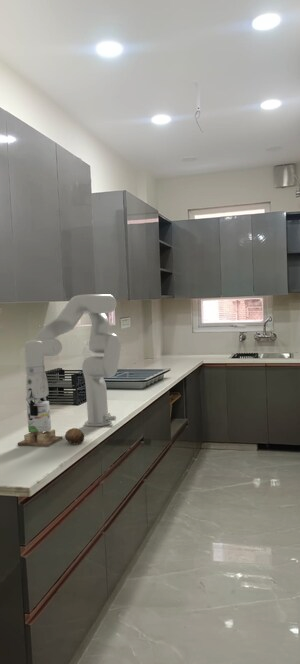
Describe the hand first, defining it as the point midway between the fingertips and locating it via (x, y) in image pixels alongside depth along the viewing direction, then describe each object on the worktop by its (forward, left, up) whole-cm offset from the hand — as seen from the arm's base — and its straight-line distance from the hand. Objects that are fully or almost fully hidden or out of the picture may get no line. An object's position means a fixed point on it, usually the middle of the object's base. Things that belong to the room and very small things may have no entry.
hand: (38, 413), depth 209 cm
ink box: (0, 0, -7) cm, 7 cm away
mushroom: (-16, 0, -12) cm, 20 cm away
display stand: (0, 0, -12) cm, 12 cm away
